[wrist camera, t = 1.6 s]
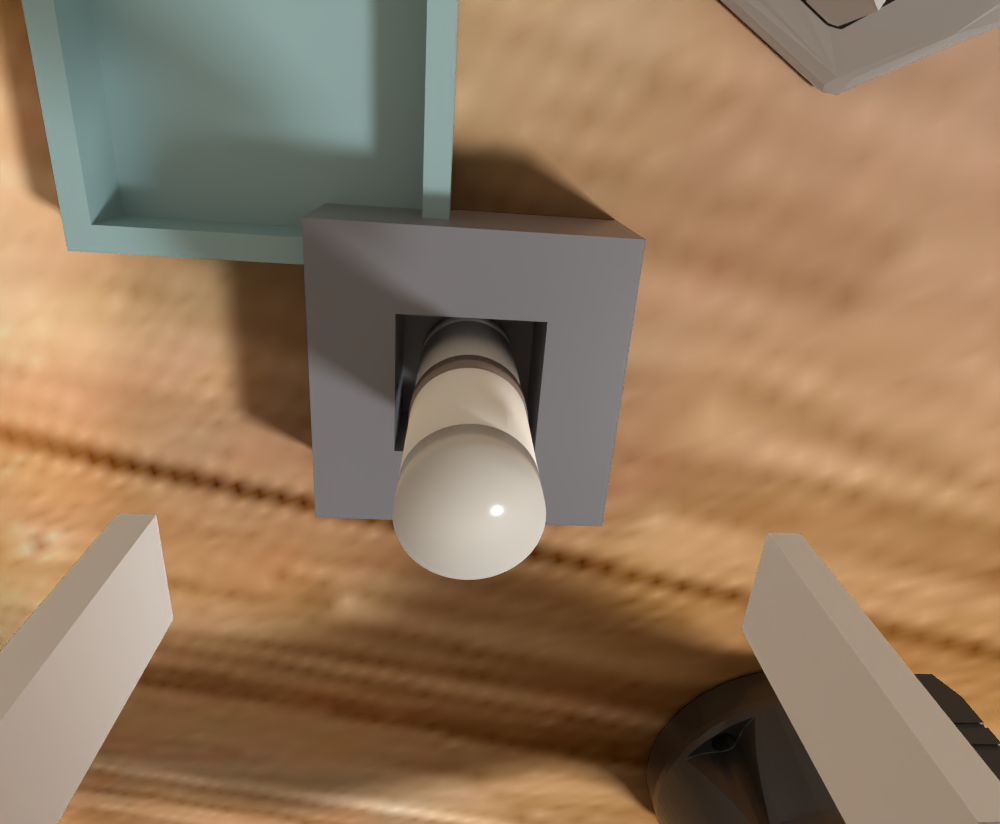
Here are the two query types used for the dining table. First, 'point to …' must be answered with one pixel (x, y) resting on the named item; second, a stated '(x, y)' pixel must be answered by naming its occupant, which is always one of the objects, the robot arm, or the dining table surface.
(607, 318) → the fuse holder
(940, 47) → the electrical switch
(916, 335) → the dining table surface
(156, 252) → the parts tray
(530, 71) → the dining table surface
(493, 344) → the cylinder
